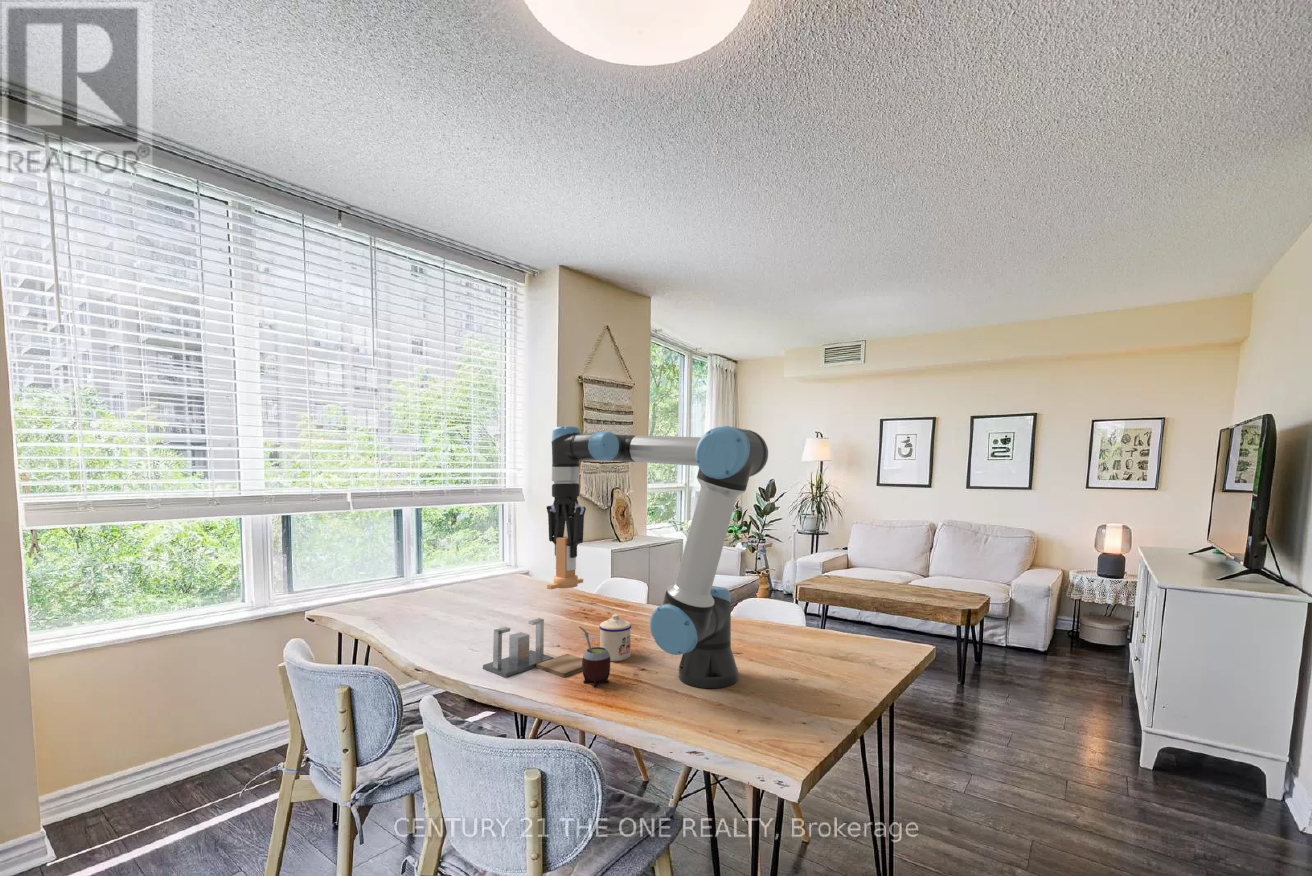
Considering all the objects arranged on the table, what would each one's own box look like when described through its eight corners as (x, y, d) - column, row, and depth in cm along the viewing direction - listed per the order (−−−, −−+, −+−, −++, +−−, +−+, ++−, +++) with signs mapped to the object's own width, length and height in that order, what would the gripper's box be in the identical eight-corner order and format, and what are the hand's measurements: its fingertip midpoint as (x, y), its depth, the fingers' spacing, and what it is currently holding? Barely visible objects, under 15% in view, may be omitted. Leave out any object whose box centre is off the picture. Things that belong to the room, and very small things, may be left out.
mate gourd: (611, 677, 143) (611, 618, 143) (609, 689, 135) (609, 626, 136) (581, 677, 142) (582, 618, 143) (578, 689, 134) (578, 626, 135)
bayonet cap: (573, 581, 158) (573, 535, 159) (589, 583, 154) (589, 536, 155) (541, 588, 149) (541, 538, 150) (557, 591, 145) (557, 540, 146)
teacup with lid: (624, 663, 153) (624, 620, 153) (593, 660, 156) (594, 617, 156) (639, 650, 164) (639, 610, 165) (610, 647, 167) (611, 607, 168)
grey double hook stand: (531, 653, 161) (531, 615, 162) (553, 661, 155) (554, 621, 155) (482, 668, 149) (483, 627, 149) (505, 677, 142) (506, 634, 143)
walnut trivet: (594, 665, 151) (594, 662, 151) (563, 677, 142) (563, 673, 142) (567, 657, 158) (567, 653, 158) (536, 667, 149) (536, 664, 149)
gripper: (597, 482, 151) (597, 570, 149) (555, 482, 161) (555, 564, 160) (576, 483, 145) (576, 574, 143) (535, 482, 155) (534, 568, 154)
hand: (565, 568), depth 151 cm, fingers closed on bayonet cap, 4 cm apart
